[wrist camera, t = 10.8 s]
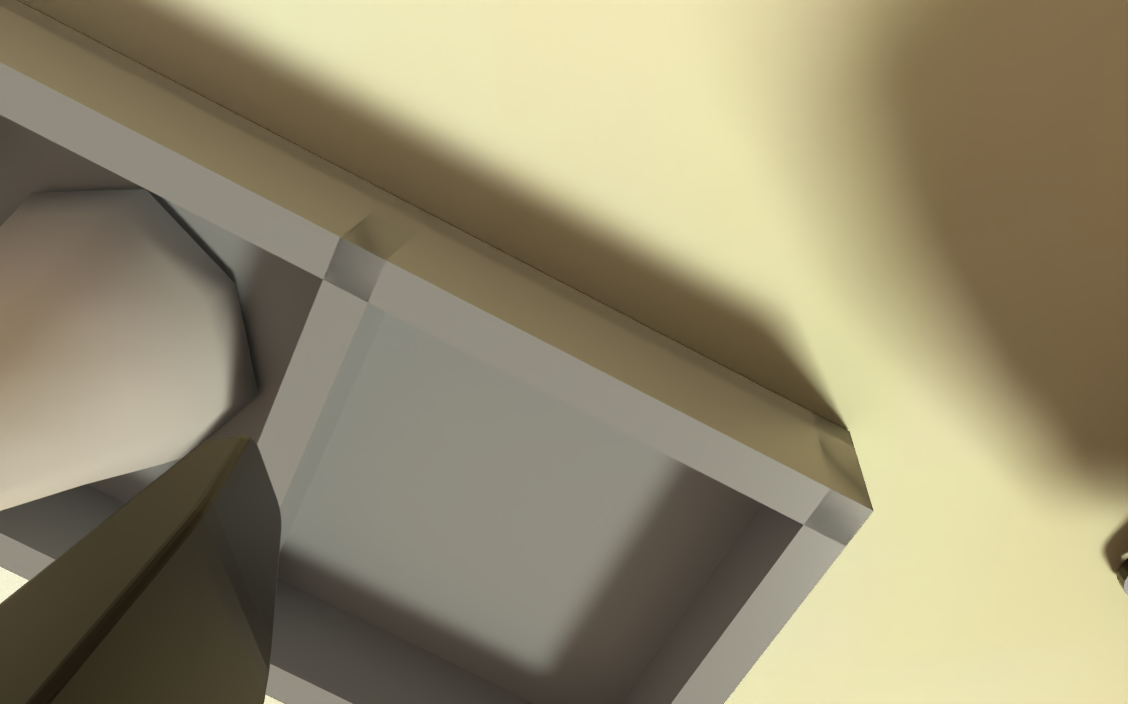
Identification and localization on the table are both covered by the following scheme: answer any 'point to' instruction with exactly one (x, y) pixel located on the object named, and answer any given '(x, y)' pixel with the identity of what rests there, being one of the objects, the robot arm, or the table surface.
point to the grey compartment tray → (442, 426)
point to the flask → (110, 342)
